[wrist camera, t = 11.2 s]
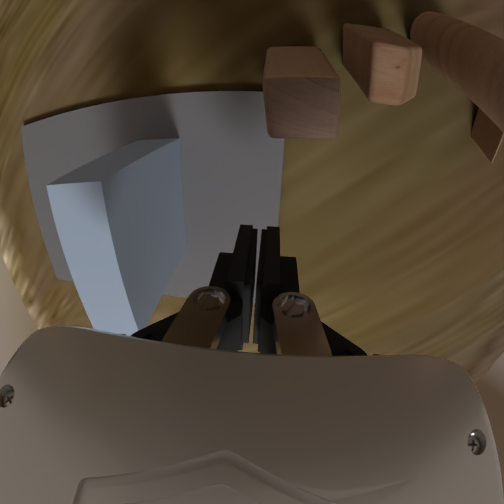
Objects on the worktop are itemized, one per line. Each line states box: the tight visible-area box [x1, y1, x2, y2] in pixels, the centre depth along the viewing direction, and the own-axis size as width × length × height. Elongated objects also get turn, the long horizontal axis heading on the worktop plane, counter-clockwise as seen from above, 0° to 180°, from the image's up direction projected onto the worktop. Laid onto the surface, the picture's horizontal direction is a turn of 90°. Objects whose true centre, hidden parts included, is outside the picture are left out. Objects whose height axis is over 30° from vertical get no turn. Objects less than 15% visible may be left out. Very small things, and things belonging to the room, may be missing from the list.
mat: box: [21, 91, 285, 304], centre depth 19 cm, size 16×22×1 cm
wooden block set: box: [262, 11, 504, 163], centre depth 9 cm, size 18×9×10 cm, turn 94°
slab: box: [46, 138, 187, 336], centre depth 14 cm, size 8×3×9 cm, turn 178°
